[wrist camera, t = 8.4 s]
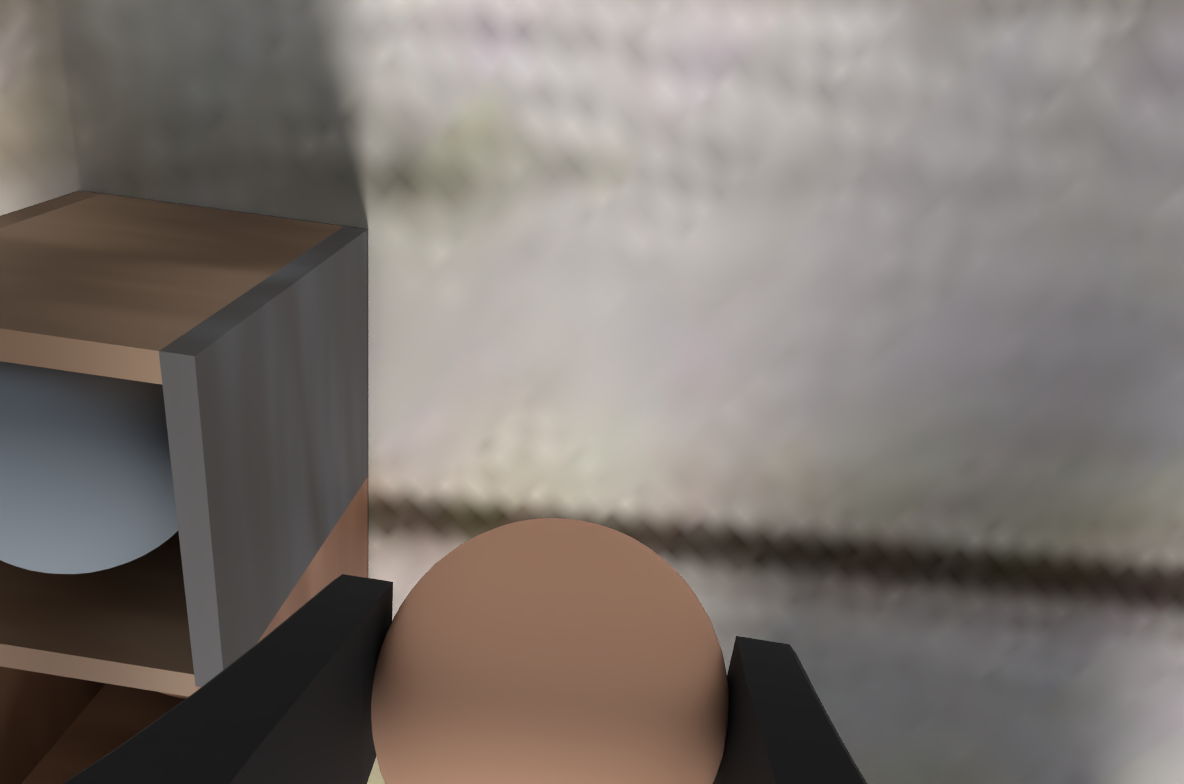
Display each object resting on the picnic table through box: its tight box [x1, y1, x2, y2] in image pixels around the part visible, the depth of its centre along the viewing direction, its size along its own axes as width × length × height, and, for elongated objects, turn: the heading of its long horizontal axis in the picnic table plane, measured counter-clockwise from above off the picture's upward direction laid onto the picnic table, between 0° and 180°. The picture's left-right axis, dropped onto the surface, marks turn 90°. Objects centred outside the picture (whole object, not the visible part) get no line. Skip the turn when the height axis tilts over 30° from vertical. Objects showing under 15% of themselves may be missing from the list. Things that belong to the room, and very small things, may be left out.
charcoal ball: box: [0, 361, 178, 574], centre depth 14 cm, size 4×4×4 cm
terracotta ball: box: [371, 518, 729, 784], centre depth 10 cm, size 4×4×4 cm
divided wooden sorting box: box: [0, 191, 368, 784], centre depth 18 cm, size 6×12×7 cm, turn 174°
